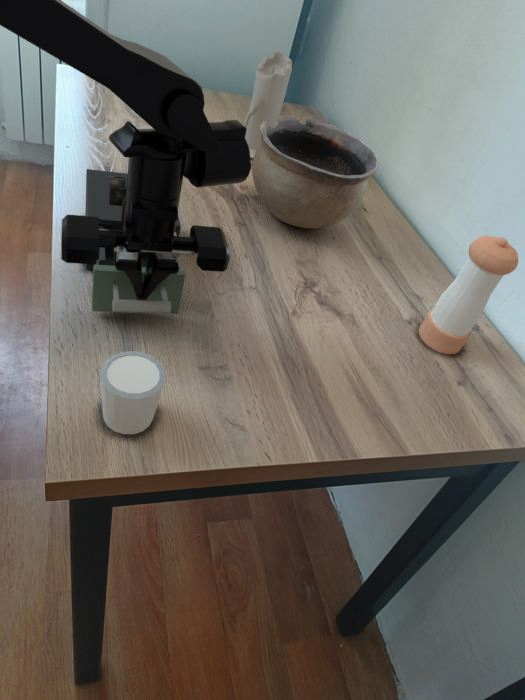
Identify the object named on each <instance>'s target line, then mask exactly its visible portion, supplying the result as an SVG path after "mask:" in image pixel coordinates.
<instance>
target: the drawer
mask: <svg viewBox="0 0 525 700" xmlns="http://www.w3.org/2000/svg"><path fill="white" fill-rule="evenodd" d="M99 229H106V230H119V231H123V226H118V225H106V224H99ZM148 257H149V252H140V260H141V267H142V283H143V278H144V274H145V270H146V266H147V262H148ZM185 279H186V272H185V269H179V272H178V273H177V274H170V275H169V276H168V277H167V278H166V279H165V280H163V281H162V282H161V283H160V284H159V285H158V286H157V287H156V288H155V290H154V291H153V292H152V293H151V294H150V296H149V297H148V298H147V299H146V300H137V297H136V294H135V291H134V288H133V286H132V283H131V282H130V280H129V278H128V277H127V275H126V274H125V272H124V271H118V270H116V269H115V260H114V248H101V247H99V259H98V260H97V261H96V265H93V270H92V291H91V292H92V293H91V311H92V312H95V313H97V312H98V313H130V314H131V313H132V314H163V315H164V314H165V315H166V314H167V315H179V312H180V307H181V301H182V296H183V292H184V285H185Z"/></svg>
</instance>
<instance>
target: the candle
mask: <svg viewBox="0 0 525 700" xmlns="http://www.w3.org/2000/svg"><path fill="white" fill-rule="evenodd" d="M272 52H273V53H272V54H271V56H268V55H265V56H264V57H263V58H262V61H260V62H259V63H258V64H257V67H256V74H255V78H254V83H253V90H252V97H251V101H250V104H249V108H248V111H247V114H246V117H245V119H244V123H243V126H245V127H246V129H247V131H246V136H245V139H246V141H247V144H248V147H249V151H250V159H253V158H254V155H255V152H256V150H257V147H258V145H259V143H260V142H261V132H260V126H261V124H262V123H263V121H268V123H269V124H270V126H271V127H274V126H275V124H276V123H277V119H278V116H279V115H280V116H281V113H282V109H283V105H284V102H285V98H286V94H287V91H288V87H289V83H290V79H291V76H292V72H293V60H292V59H291V58H290V57H288V56H287V55H286V54H285V53H283V52H281V51H280V50H278V49H274V50H273V51H272Z"/></svg>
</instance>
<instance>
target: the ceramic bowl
mask: <svg viewBox="0 0 525 700" xmlns="http://www.w3.org/2000/svg"><path fill="white" fill-rule="evenodd" d="M260 132H261V142H260V143H259V145H258V147H257V150H256V152H255V155H254V158H252V163H251V175H252V179H253V183H254V188H255V190H256V192H257V194H258V197H259V199H260V200H261V202H262V204H263V205H264V206H265V208H266V209H267V210H268V211H269V212H270V213H271V214H272V215H273V216H274V217H275V218H276V219H278V220H280V221H281V222H283V223H285V224H288V225H290V226H294V227H297V228H301V229H321V228H325V227H328V226H331V225H335V224H339V223H340V222H342V221H344V220H345V219H347V218H348V217H349V216H351V215H352V214H353V213H355V212H356V211H357V209H358V208H359V207H360V205H361V203H362V201H363V200H364V197H365V195H366V192H367V189H368V185H369V179H370V178H371V177H372V176H373V175H374V174H376V172H377V171H378V170H379V167H380V160H379V158H378V156H377V153H376V152H375V151H373V150H372V148H370V147H368V145H367V144H366V143H365V142H364V141H363V140H362V139H360V138H359V137H357V136H355V135H353V134H351V133H350V132H348V131H346V130H344V129H341V128H338V127H337V126H335V125H334V124H331V123H328V122H324V121H322V120H319V119H316V118H312V117H306V118H305V119H304V122H303V121H302V120H301V119H300V118H299V117H298V116H296V115H294V114H293V115H292V114H287V115H281V114H280V115H279V116H278V119H277V123H276V124H275V126H274V127H271V126H270V124H269V123H268V121H263V123H262V124H261V126H260Z"/></svg>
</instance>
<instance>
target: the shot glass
mask: <svg viewBox="0 0 525 700" xmlns="http://www.w3.org/2000/svg"><path fill="white" fill-rule="evenodd" d="M166 378H167V377H166V369H165V368H164V367H163V365H162V363H161V362H160V361H159V360H158V359H156V358H155V357H153V356H152V355H150V354H147V353H144V352H142V351H133V350H132V351H130V350H126V351H123V352H117V353H114V354H112V355H111V356H110V357H108V358H107V359H105V360H104V362H103V363H102V365H101V366H100V368H99V385H100V396H101V398H100V399H101V408H102V419H103V421H104V423H105V425H106V426H107V427H108V428H109V429H110V430H112V431H113V432H115V433H119V434H121V435H136V434H139V433H141V432H142V433H143V432H144V431H145V430H146V429H148V428H149V427H150V426H151V424H152V422H153V421H154V417H155V414H156V411H157V409H158V408H157V407H158V405H159V403H160V399H161V396H162V392H163V389H164V386H165V384H166Z"/></svg>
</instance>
